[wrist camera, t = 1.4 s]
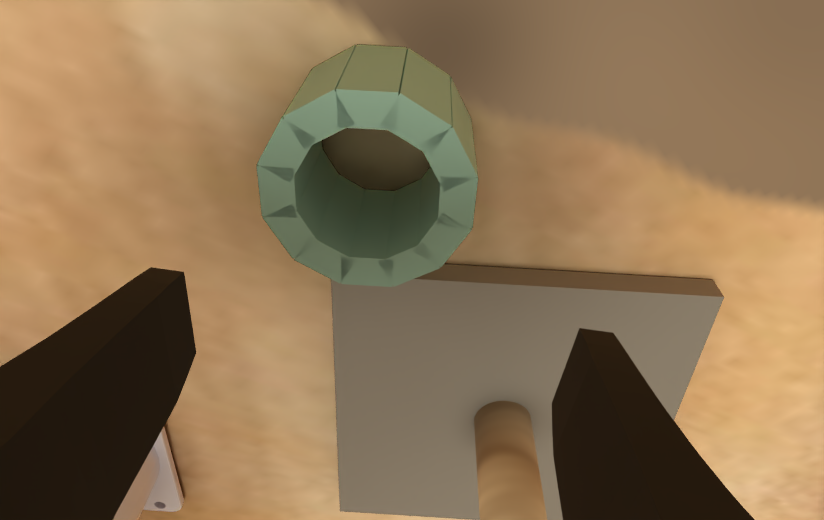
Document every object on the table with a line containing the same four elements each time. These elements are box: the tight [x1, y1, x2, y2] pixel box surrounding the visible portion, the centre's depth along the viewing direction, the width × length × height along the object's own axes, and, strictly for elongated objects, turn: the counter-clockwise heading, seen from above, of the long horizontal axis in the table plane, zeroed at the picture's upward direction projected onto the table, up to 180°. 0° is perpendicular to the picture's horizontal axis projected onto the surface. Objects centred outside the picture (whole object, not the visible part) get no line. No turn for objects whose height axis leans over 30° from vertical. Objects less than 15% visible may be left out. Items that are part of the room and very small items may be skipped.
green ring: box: [257, 44, 478, 287], centre depth 17 cm, size 5×5×4 cm
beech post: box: [474, 401, 547, 520], centre depth 21 cm, size 2×2×5 cm
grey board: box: [331, 264, 724, 520], centre depth 24 cm, size 13×13×1 cm
